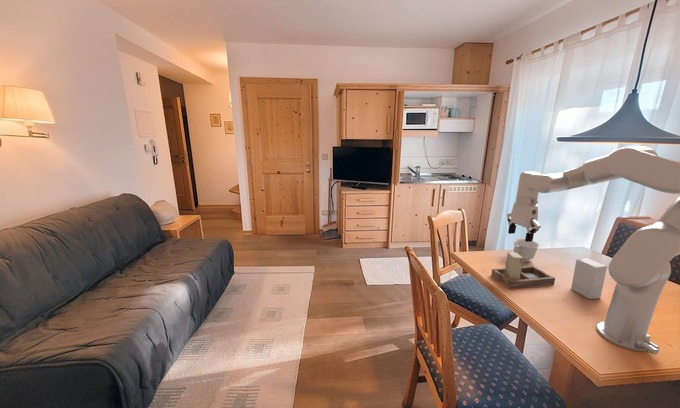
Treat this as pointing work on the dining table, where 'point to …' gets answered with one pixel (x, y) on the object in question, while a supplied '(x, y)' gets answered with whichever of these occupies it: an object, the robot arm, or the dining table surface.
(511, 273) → the skincare box
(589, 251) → the dining table surface
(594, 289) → the skincare box
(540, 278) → the divided wooden tray
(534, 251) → the teacup
